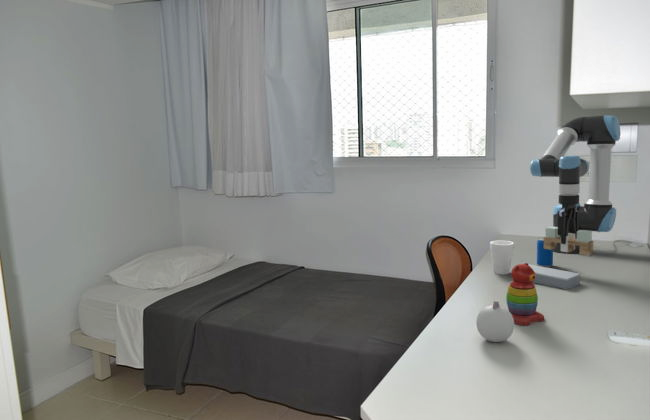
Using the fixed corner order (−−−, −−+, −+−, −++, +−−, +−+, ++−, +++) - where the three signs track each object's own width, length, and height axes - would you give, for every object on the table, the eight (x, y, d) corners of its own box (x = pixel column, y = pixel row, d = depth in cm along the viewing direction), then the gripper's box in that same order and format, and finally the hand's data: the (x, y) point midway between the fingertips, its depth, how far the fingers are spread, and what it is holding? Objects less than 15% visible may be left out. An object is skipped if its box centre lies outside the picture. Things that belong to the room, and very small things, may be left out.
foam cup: (489, 274, 209) (489, 244, 208) (490, 269, 218) (490, 240, 216) (513, 276, 206) (513, 245, 204) (513, 270, 214) (514, 240, 212)
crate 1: (550, 235, 212) (550, 226, 211) (559, 236, 208) (559, 227, 208) (545, 237, 209) (545, 227, 209) (554, 238, 206) (555, 228, 206)
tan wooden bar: (549, 246, 213) (550, 235, 212) (593, 253, 199) (593, 240, 198) (543, 248, 210) (543, 237, 209) (587, 255, 196) (587, 243, 195)
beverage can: (549, 263, 222) (550, 237, 221) (554, 267, 216) (555, 240, 214) (534, 263, 223) (535, 237, 221) (539, 267, 217) (539, 240, 215)
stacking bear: (523, 327, 152) (524, 270, 150) (498, 317, 161) (498, 264, 159) (547, 319, 157) (548, 265, 155) (521, 310, 166) (522, 258, 164)
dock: (526, 273, 209) (526, 263, 209) (579, 283, 192) (579, 273, 191) (513, 277, 203) (513, 268, 203) (566, 289, 186) (566, 279, 185)
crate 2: (581, 239, 201) (581, 230, 201) (591, 241, 198) (591, 231, 198) (576, 241, 199) (576, 231, 198) (586, 242, 196) (587, 232, 195)
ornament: (509, 350, 137) (509, 308, 135) (472, 343, 142) (472, 303, 140) (517, 337, 145) (517, 297, 143) (481, 331, 151) (481, 293, 149)
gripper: (570, 191, 209) (569, 245, 213) (548, 196, 199) (547, 252, 202) (589, 192, 203) (587, 247, 207) (566, 197, 193) (565, 255, 196)
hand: (567, 250), depth 204 cm, fingers closed on tan wooden bar, 5 cm apart
